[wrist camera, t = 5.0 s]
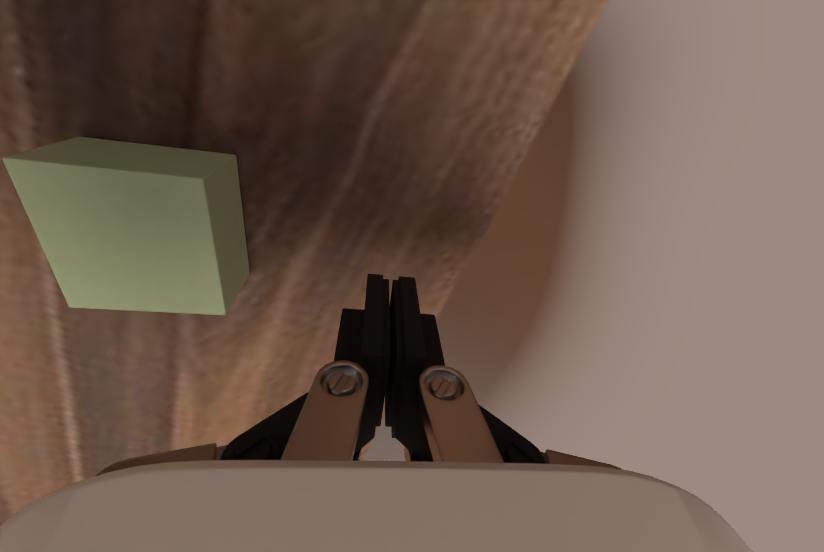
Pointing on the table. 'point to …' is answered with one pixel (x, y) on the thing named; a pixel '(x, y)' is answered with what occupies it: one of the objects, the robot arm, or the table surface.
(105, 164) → the sage block
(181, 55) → the table surface
